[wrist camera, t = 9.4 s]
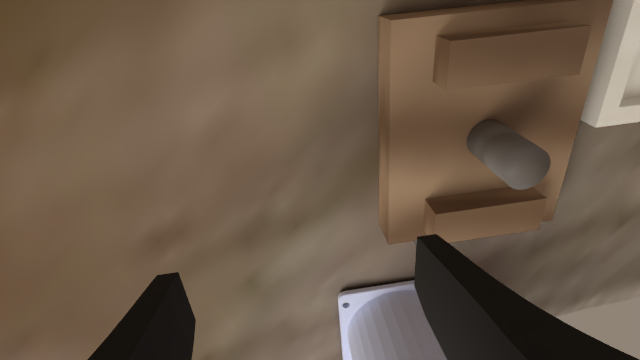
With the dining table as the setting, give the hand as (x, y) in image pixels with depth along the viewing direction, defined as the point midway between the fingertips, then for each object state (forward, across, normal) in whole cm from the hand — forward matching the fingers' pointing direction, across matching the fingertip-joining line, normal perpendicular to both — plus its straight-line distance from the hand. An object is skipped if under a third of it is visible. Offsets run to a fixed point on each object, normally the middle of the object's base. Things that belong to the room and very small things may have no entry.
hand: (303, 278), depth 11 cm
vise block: (+10, -10, 0) cm, 14 cm away
